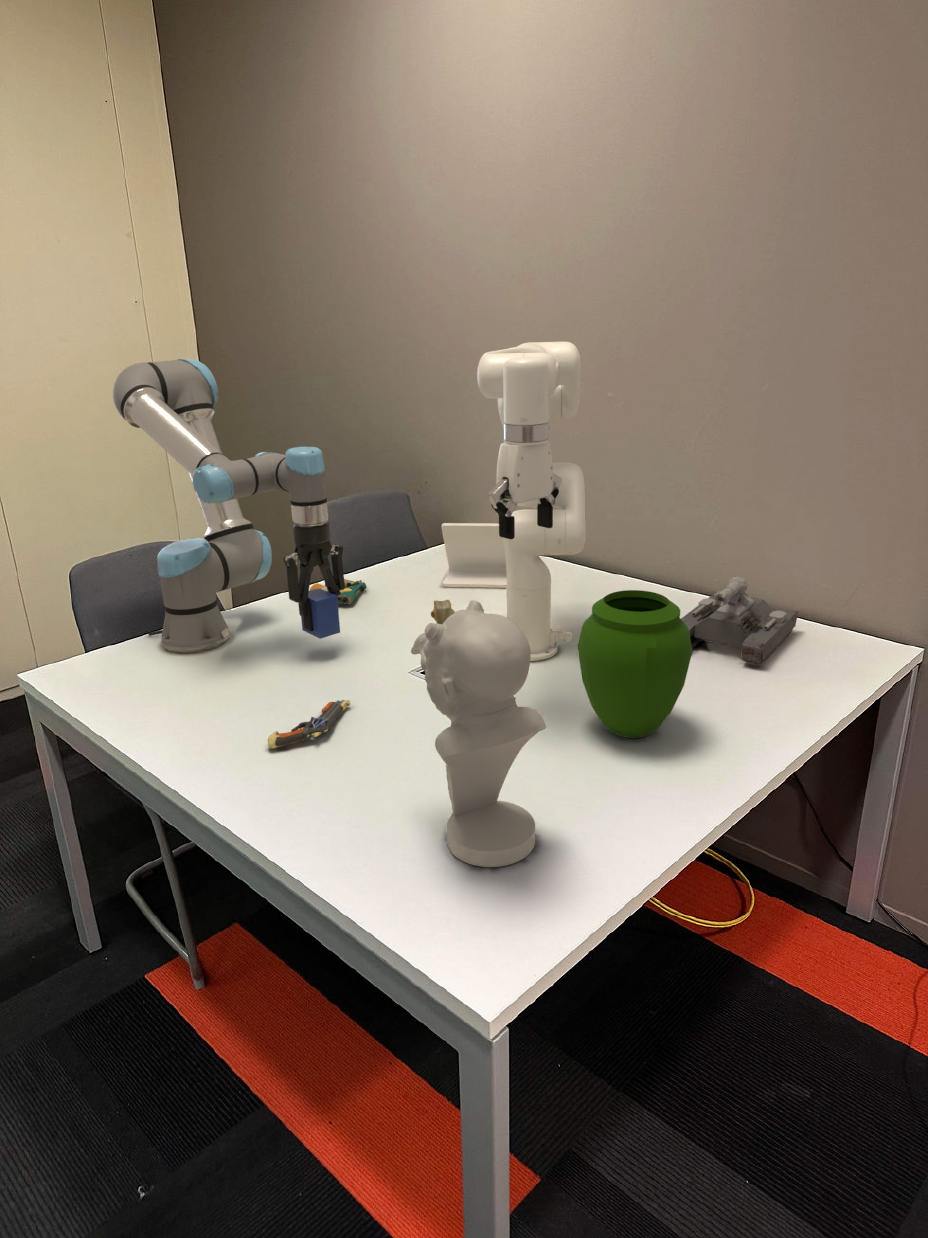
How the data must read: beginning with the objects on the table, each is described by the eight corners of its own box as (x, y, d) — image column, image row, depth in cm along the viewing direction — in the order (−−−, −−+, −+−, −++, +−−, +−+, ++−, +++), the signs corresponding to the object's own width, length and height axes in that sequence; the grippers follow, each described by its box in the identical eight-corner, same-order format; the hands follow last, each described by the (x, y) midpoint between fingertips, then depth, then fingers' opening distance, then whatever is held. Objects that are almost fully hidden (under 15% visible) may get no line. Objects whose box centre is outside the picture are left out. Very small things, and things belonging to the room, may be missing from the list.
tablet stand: (534, 588, 228) (534, 526, 222) (442, 586, 231) (439, 525, 225) (538, 568, 245) (538, 509, 239) (451, 566, 248) (449, 509, 242)
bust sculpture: (481, 772, 140) (476, 569, 128) (565, 848, 120) (569, 617, 108) (392, 800, 134) (378, 588, 121) (465, 886, 114) (457, 642, 101)
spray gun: (334, 586, 236) (381, 594, 231) (299, 601, 222) (348, 610, 216) (334, 571, 235) (381, 579, 229) (298, 586, 221) (348, 594, 215)
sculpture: (458, 662, 183) (456, 596, 178) (460, 676, 176) (457, 608, 171) (431, 663, 183) (428, 597, 177) (431, 677, 176) (428, 609, 171)
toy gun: (262, 738, 148) (316, 736, 146) (302, 698, 166) (350, 695, 164) (265, 752, 149) (319, 750, 147) (304, 710, 167) (353, 708, 165)
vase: (701, 718, 156) (710, 592, 147) (663, 766, 141) (671, 629, 132) (602, 695, 166) (606, 576, 157) (557, 738, 151) (558, 608, 142)
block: (322, 624, 191) (319, 588, 188) (340, 632, 186) (337, 595, 183) (302, 630, 188) (298, 593, 185) (319, 639, 183) (316, 601, 180)
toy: (710, 615, 205) (715, 555, 200) (796, 631, 194) (803, 568, 189) (667, 650, 186) (671, 585, 181) (759, 670, 175) (767, 601, 170)
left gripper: (337, 512, 187) (346, 611, 195) (262, 527, 176) (275, 632, 184) (357, 517, 181) (364, 619, 190) (281, 534, 170) (292, 641, 179)
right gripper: (544, 425, 152) (543, 519, 158) (473, 437, 141) (475, 538, 147) (576, 429, 146) (574, 526, 153) (505, 442, 136) (506, 546, 142)
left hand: (320, 625), depth 187 cm, fingers closed on block, 5 cm apart
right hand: (526, 532), depth 150 cm, fingers open, 9 cm apart
